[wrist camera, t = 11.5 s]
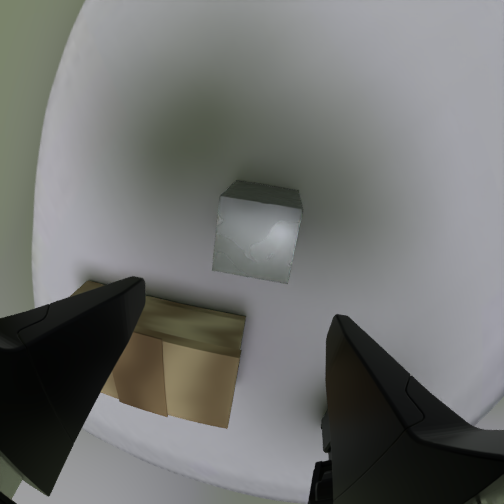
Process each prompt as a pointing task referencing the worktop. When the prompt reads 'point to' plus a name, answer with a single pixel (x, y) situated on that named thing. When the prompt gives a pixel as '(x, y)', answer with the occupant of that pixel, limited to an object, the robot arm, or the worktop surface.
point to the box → (187, 321)
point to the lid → (176, 377)
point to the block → (257, 231)
